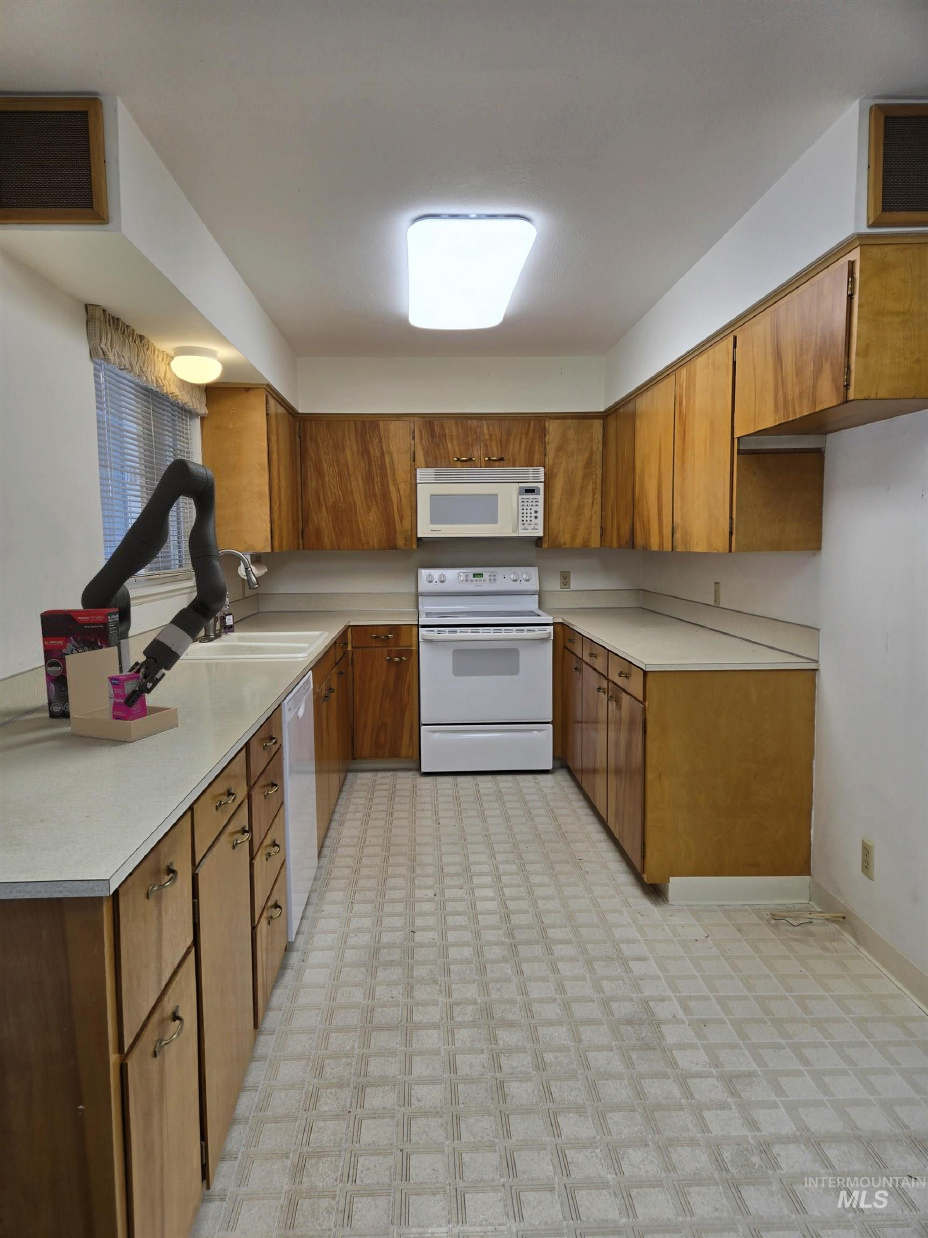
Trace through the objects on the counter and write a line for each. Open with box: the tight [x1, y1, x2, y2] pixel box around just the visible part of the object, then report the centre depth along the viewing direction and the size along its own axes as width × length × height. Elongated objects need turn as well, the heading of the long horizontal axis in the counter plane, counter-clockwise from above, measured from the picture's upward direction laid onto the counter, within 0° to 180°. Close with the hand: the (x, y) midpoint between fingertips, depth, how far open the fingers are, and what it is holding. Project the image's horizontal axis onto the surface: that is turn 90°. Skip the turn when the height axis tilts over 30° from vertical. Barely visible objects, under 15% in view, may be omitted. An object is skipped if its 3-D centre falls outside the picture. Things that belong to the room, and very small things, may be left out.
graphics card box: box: [39, 608, 123, 719], centre depth 178 cm, size 17×7×27 cm, turn 91°
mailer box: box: [65, 647, 179, 743], centre depth 164 cm, size 18×14×18 cm
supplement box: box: [107, 672, 147, 721], centre depth 164 cm, size 6×6×12 cm
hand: (120, 702), depth 163 cm, fingers closed on supplement box, 7 cm apart
